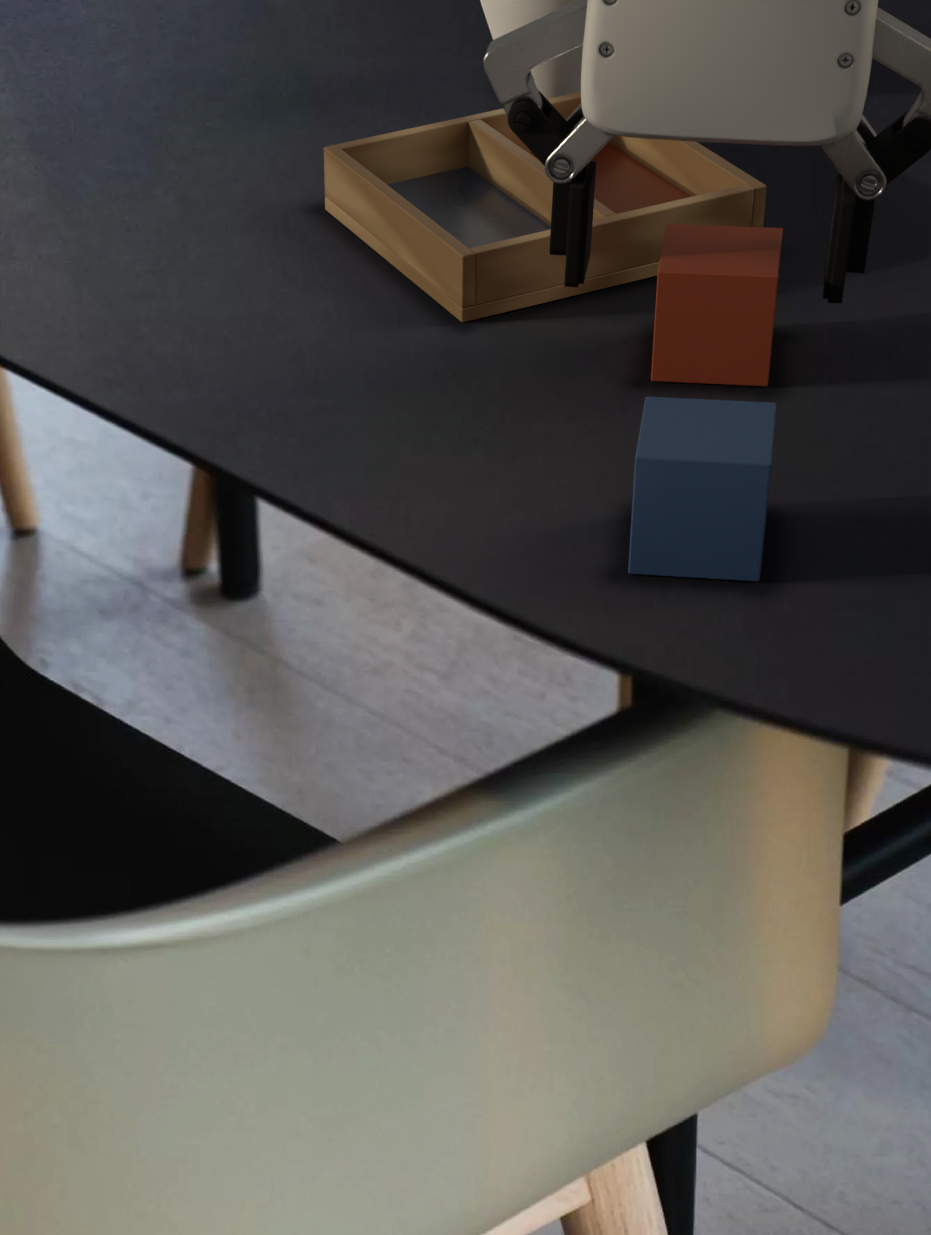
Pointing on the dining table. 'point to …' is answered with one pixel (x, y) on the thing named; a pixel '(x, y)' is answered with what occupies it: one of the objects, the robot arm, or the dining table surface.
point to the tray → (521, 208)
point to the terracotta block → (716, 304)
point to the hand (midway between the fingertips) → (704, 280)
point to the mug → (519, 3)
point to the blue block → (701, 488)
